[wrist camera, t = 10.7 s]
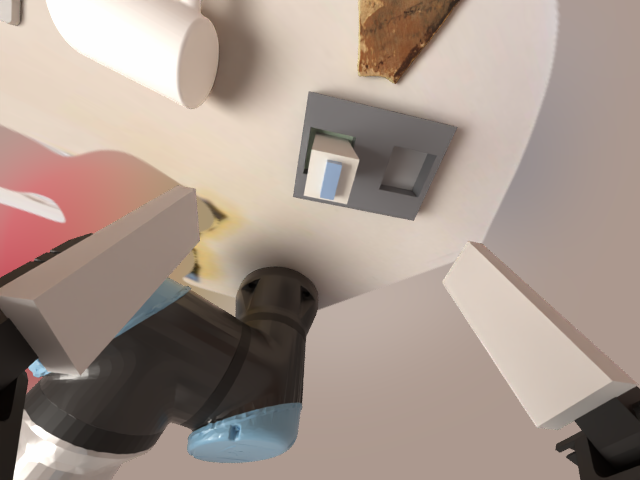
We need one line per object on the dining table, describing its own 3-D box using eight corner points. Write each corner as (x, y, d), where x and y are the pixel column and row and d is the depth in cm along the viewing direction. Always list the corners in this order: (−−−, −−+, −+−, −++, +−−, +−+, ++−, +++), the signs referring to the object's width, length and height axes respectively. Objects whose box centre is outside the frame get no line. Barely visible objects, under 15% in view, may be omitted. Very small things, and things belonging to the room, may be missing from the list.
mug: (209, 108, 28) (172, 111, 21) (120, 62, 26) (47, 49, 19) (237, -18, 22) (199, -70, 15) (126, -92, 20) (25, -190, 13)
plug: (339, 169, 31) (347, 208, 20) (310, 163, 31) (302, 199, 20) (347, 138, 29) (361, 162, 18) (316, 131, 29) (311, 151, 18)
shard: (468, -16, 22) (479, -24, 21) (450, 79, 26) (458, 78, 25) (357, -5, 23) (359, -12, 21) (355, 87, 27) (357, 86, 25)
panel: (407, 211, 34) (413, 220, 32) (295, 189, 33) (293, 196, 30) (445, 124, 28) (457, 127, 26) (310, 92, 27) (308, 91, 24)
